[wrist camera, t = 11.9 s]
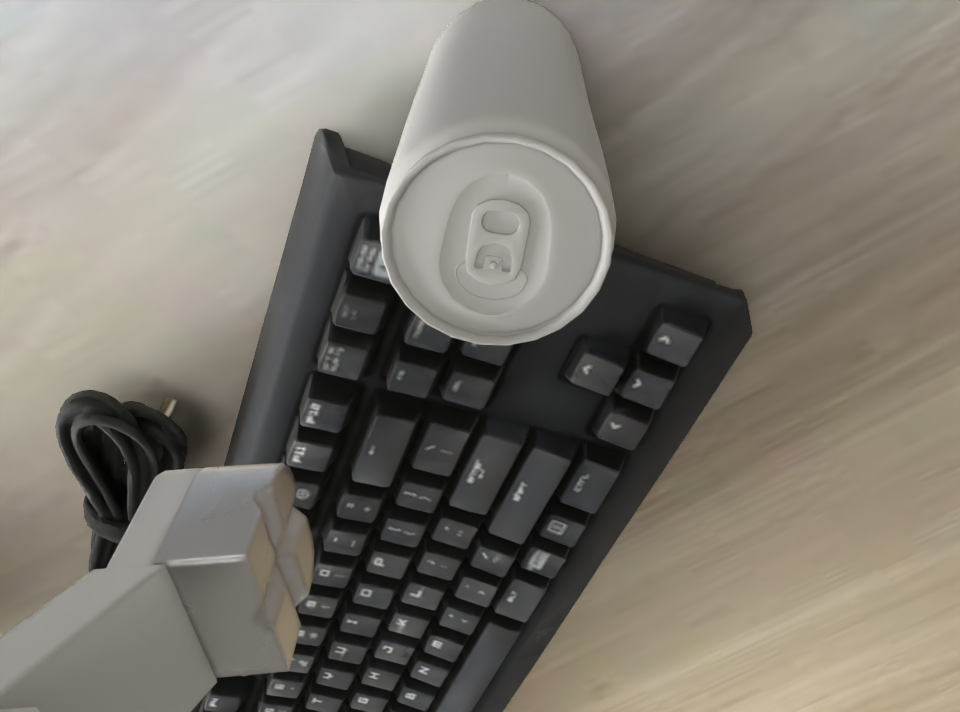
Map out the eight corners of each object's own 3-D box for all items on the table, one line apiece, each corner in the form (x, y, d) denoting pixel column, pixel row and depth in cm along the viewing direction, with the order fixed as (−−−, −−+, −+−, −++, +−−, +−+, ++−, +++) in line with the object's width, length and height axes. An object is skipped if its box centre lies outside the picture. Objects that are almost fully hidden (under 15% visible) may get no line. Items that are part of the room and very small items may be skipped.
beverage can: (418, 138, 28) (363, 334, 18) (436, -20, 26) (383, 108, 16) (565, 161, 29) (591, 367, 19) (598, 6, 26) (648, 149, 16)
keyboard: (428, 810, 50) (420, 898, 46) (32, 714, 46) (-13, 800, 42) (766, 277, 31) (802, 350, 27) (136, 42, 27) (70, 87, 23)
